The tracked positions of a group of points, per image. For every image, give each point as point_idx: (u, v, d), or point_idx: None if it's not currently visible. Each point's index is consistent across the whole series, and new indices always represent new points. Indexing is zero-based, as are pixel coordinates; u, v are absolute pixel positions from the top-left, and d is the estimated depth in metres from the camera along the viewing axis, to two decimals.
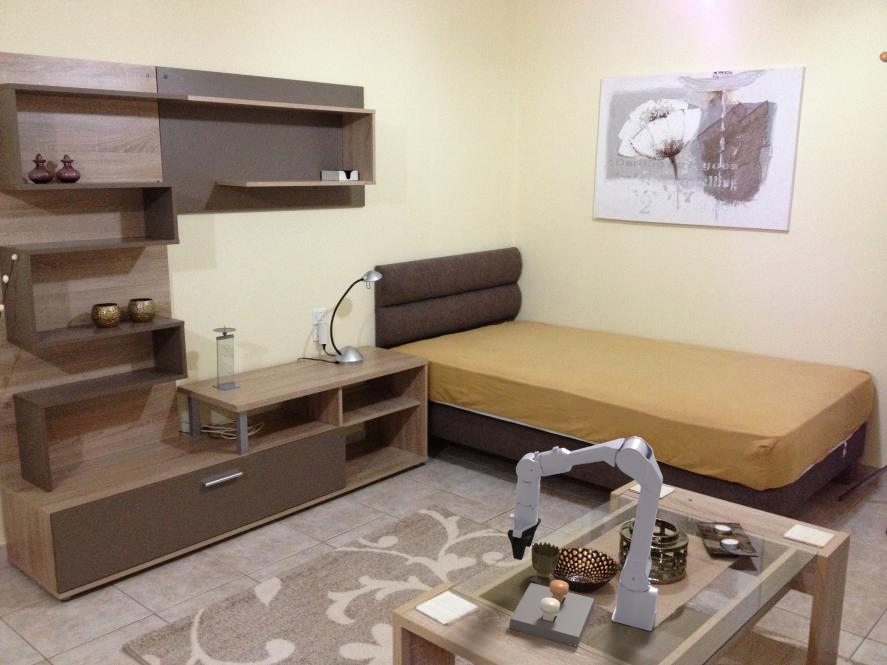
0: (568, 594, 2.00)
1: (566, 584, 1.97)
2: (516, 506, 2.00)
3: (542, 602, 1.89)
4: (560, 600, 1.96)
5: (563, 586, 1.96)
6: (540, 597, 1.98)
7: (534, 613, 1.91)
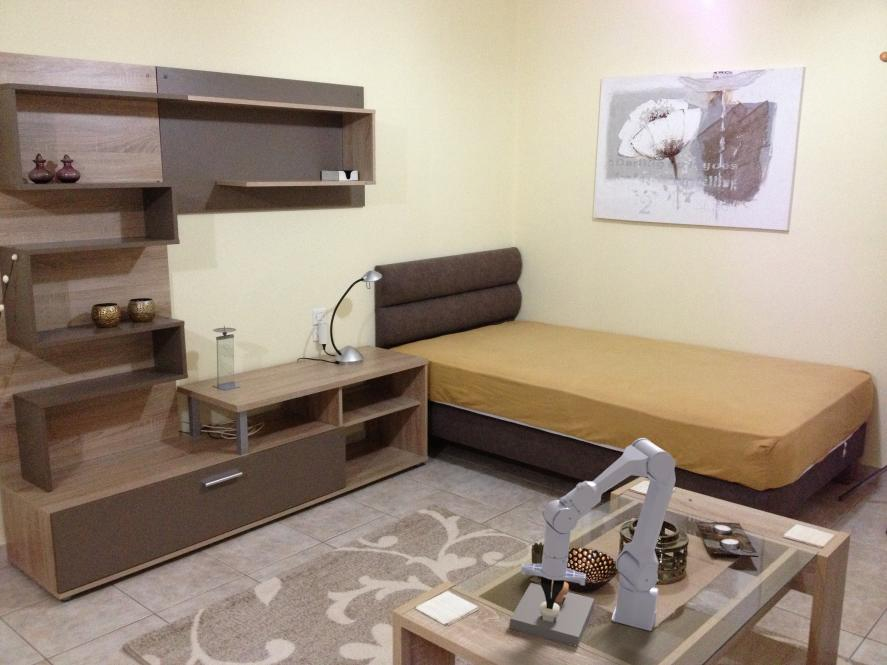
0: (568, 594, 2.00)
1: (566, 584, 1.97)
2: None
3: (542, 606, 1.89)
4: (560, 600, 1.96)
5: None
6: (540, 597, 1.98)
7: (534, 613, 1.91)
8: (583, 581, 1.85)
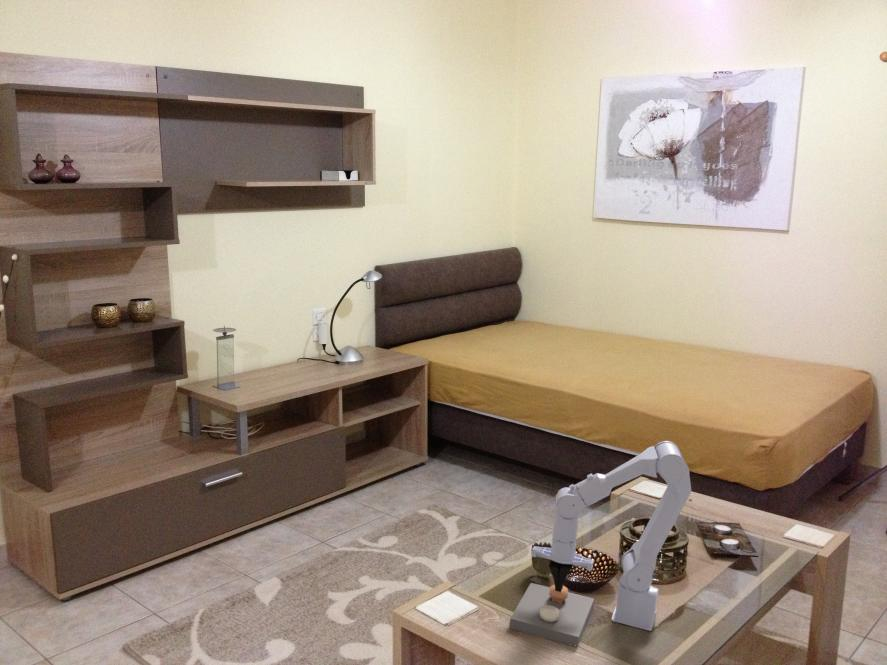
0: (568, 594, 2.00)
1: (565, 589, 1.98)
2: None
3: (541, 610, 1.89)
4: None
5: (562, 591, 1.96)
6: (540, 597, 1.98)
7: (534, 613, 1.91)
8: (590, 566, 1.92)
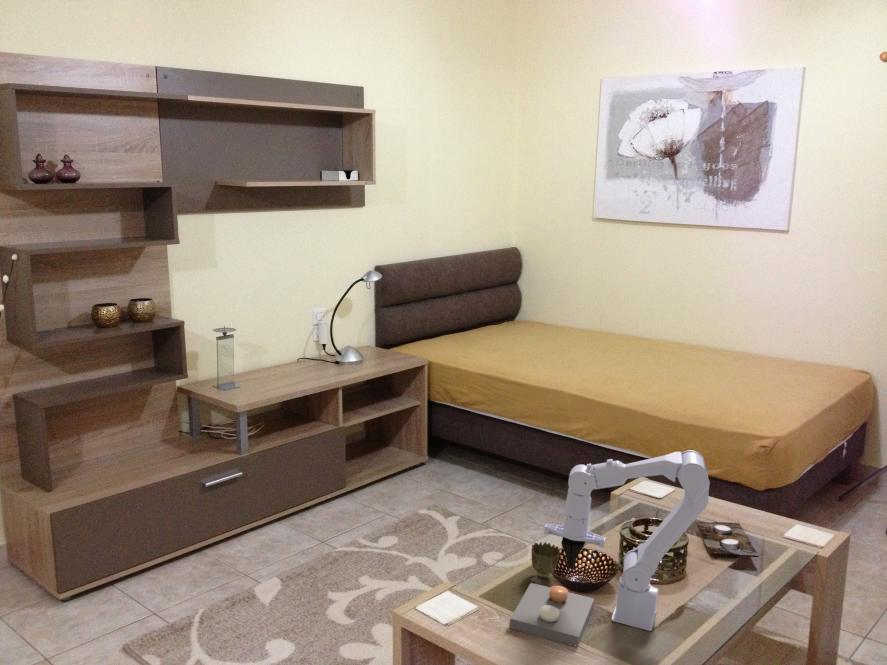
0: (568, 594, 2.00)
1: (565, 590, 1.98)
2: None
3: (541, 610, 1.89)
4: None
5: (562, 592, 1.96)
6: (540, 597, 1.98)
7: (534, 613, 1.91)
8: (602, 543, 1.93)
